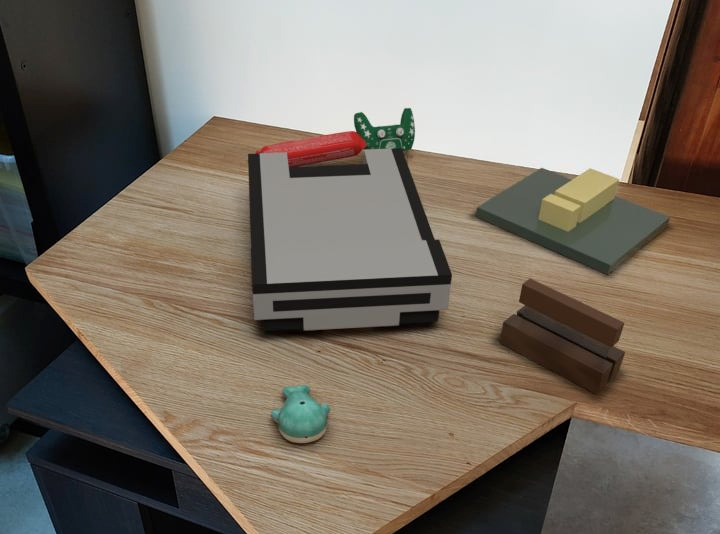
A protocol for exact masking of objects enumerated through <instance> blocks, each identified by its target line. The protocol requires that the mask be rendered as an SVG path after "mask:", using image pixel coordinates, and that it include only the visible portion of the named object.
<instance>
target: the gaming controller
mask: <svg viewBox="0 0 720 534" xmlns="http://www.w3.org/2000/svg"><path fill="white" fill-rule="evenodd" d="M353 125H354V128H355V132H357V133H358V134H359V135H360V136H361V138H362V139H363V140H365V143H366V147H365V148H364V149H363V151H364V150H366V149H394V148H402V150H403V153H405V152H409V151H411V150H412V149H413V146H414V143H415V138H416V137H415V136H416V127H415V125H416V124H415V118H414V114H413V110H412V108H411V107H404V108H403V111H402V113H401V117H400V123H399V124H391V125H379V126H373V125H372V124H371V122H370V120H369V119H368V117H367V115H366V114H365V113H364V112H362V111H360V112H356V113H354V115H353Z"/></svg>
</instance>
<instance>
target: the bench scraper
mask: <svg viewBox="0 0 720 534" xmlns="http://www.w3.org/2000/svg"><path fill="white" fill-rule="evenodd" d="M518 303H520V304H522V305H523V306H525V307H524V312H523V316H522V318H523V319H525V320H527V321H529V322H531V323H533V324H535V325H537V326H539V327H541V328H543V329H545V330H547V331H549V332H551V333H553V334H555V335H557V336H559V337H561V338H563V339H565V340H567V341H569V342H571V343H573V344H575V345H577V346H579V347H581V348H583V349H585V350H587V351H589V352H591V353H592V354H594V355H596V356H598V357H600V358H602V359H604V360H606V357H607V354H608V351H609V348H610V347H611V348H612V347H613V346H614V347H615V345H616V344H617V343H618V342H619V341H620V339H621V337H622V336H621V335H622V334H623V333H622V332H623V329H624V326H625V322H624V321H622V320H620V319H618V318H616V317H614V316H611V315H609V314H607V313H606V312H603V311H601V310H598V309H597V308H594V307H592V306H590V305H588V304H586V303H584V302H582V301H580V300H578V299H575V298H573V297H571V296H569V295H567V294H564V293H563V292H561V291H558V290H556V289H554V288H552V287H550V286H548V285H545V284H543V283H541V282H539V281H537V280H535V279H533V278H529V279H527V280H526V281H524V282H523V283H522V285H521V289H520V293H519V299H518Z"/></svg>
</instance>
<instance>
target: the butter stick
mask: <svg viewBox="0 0 720 534" xmlns="http://www.w3.org/2000/svg"><path fill="white" fill-rule="evenodd" d="M572 179H573V180H571V181H570V182H568V183H567V184H565V185H564V186H562V187H560V188H559V189H557V190H556V191H555V193H554V195H555V196H558V197H560V198H563V199H565V200H568V201H570V202H573V203H575V204H578V205H580V206H581V208H580V212H579V216H578V220H577V222H578V223H581V222H582V221H584V220H585V219H587V218H588V217H589V216H591V215H592V214H594V213H595V212H596V211H598V210H599V209H601V208H602V207H603V206H605V205H606V204H608V203H609V202H610V201H612V200H613V199H614V197H615V196H616V193H617V190H618V186H619V183H620V178H617V177H614V176H612V175H610V174H607V173H604V172H601V171H598V170H596V169H593V168H588V169H586V170H585V171H583V172H582V173H581V174H579V175H577V176H576V177H574V178H572Z"/></svg>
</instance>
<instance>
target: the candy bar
mask: <svg viewBox="0 0 720 534" xmlns="http://www.w3.org/2000/svg"><path fill="white" fill-rule="evenodd" d="M365 147H366V143H365V140H363V139H362V138H361V136H360V135H359V134H358V133H357V132H356V130H348V131H347V130H346V131H340V132H335V133H328V134H323V135H318V136H312V137H306V138H301V139H294V140H288V141H284V142H278V143H272V144H268V145H265V146H263V147H261V149H260V151H259V150H256V151H255V154H256V153H284V152H287V158H288V167H297V166H310V165H315V164H320V163H326V162H332V161H337V160H343V159H347V158H352V157H356V156H358V155H360V154H361V153H362V151H363V150H364V148H365Z"/></svg>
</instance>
